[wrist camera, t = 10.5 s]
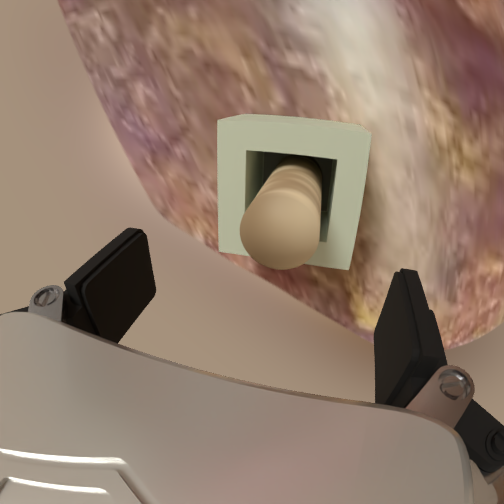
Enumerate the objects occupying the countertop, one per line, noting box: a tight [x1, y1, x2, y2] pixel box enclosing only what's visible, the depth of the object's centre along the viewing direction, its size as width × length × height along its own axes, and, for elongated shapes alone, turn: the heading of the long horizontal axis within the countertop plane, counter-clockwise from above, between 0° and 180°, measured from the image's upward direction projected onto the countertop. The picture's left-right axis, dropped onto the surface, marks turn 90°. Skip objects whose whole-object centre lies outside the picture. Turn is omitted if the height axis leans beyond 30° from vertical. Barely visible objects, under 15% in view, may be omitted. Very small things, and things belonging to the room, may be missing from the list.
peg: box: [240, 154, 322, 270], centre depth 20 cm, size 4×4×12 cm
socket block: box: [217, 114, 371, 270], centre depth 23 cm, size 10×10×7 cm
